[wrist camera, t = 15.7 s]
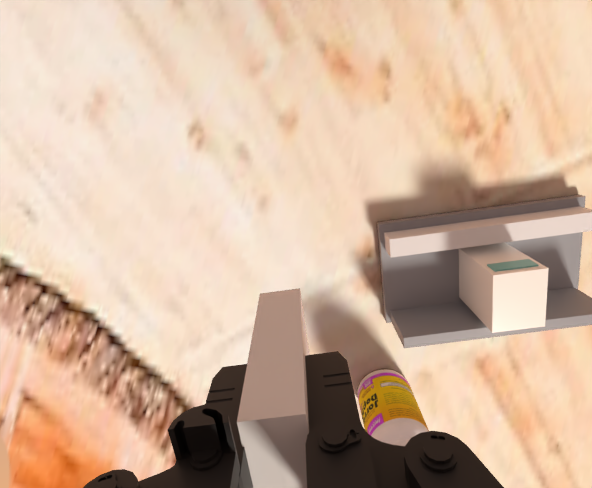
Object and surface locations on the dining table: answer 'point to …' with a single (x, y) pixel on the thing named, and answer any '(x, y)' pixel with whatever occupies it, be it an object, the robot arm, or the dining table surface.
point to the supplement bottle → (389, 408)
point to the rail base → (445, 266)
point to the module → (503, 287)
